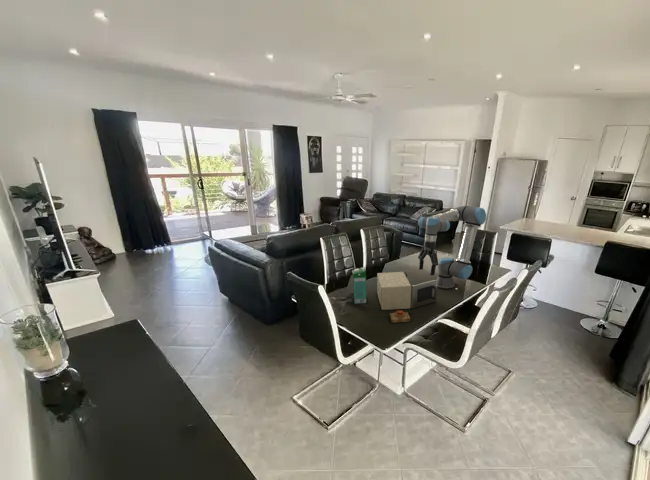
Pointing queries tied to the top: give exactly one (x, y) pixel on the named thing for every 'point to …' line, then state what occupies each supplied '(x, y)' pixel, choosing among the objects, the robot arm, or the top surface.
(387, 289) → the beige box
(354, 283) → the milk carton
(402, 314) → the button
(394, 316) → the tan button base
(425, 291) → the door
